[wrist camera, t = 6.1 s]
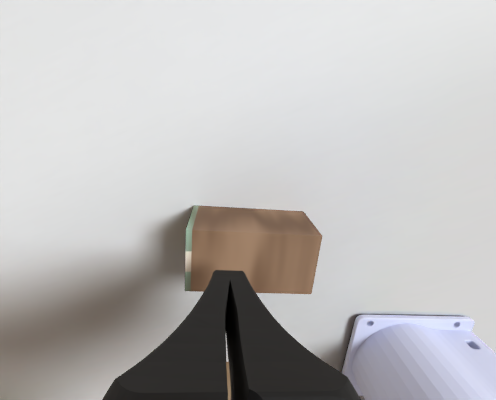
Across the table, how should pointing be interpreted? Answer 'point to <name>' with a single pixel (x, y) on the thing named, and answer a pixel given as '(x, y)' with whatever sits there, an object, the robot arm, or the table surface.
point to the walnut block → (252, 248)
